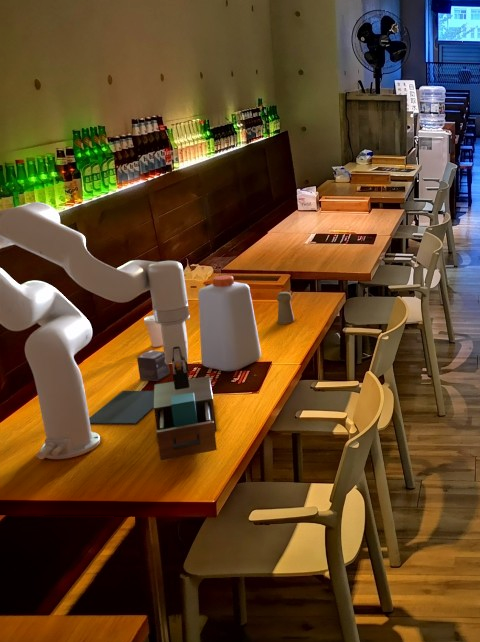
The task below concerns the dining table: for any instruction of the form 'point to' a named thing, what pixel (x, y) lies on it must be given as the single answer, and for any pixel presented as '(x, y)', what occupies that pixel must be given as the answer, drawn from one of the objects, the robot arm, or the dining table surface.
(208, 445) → the drawer
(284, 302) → the pepper shaker
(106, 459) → the dining table surface
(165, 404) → the cabinet
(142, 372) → the box
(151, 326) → the smoothie
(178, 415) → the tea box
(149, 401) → the mat
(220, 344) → the plastic bottle
